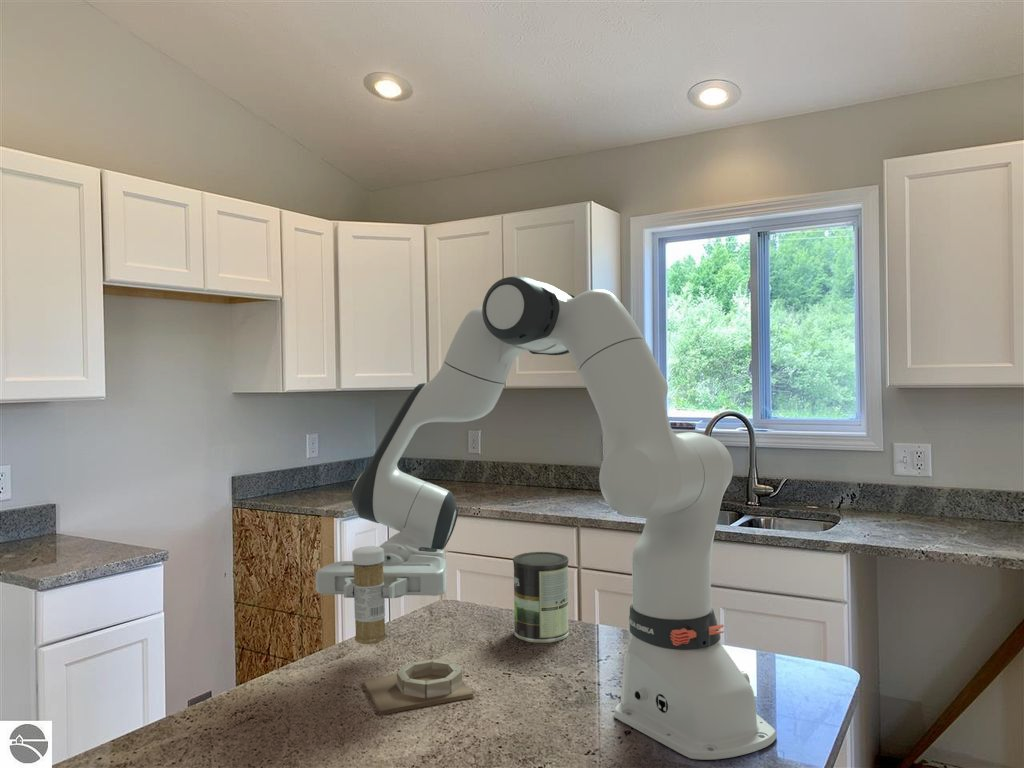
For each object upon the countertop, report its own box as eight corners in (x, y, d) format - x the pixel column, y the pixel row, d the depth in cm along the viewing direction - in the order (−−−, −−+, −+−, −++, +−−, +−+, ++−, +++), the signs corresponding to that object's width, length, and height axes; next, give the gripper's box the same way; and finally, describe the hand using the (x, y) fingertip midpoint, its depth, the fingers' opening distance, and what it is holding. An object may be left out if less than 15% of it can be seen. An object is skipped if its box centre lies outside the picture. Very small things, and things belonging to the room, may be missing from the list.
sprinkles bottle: (380, 633, 113) (378, 544, 113) (390, 642, 109) (387, 549, 109) (350, 638, 111) (348, 547, 111) (359, 647, 107) (356, 553, 107)
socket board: (473, 697, 112) (473, 679, 112) (380, 715, 106) (380, 696, 106) (448, 669, 123) (448, 653, 123) (363, 683, 117) (363, 667, 117)
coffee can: (511, 642, 135) (510, 564, 134) (516, 624, 145) (515, 551, 145) (568, 644, 134) (567, 565, 133) (570, 625, 144) (569, 551, 144)
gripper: (332, 549, 124) (298, 570, 110) (453, 549, 122) (435, 571, 108) (333, 587, 124) (299, 613, 110) (454, 588, 122) (436, 615, 108)
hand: (367, 592), depth 109 cm, fingers closed on sprinkles bottle, 4 cm apart
